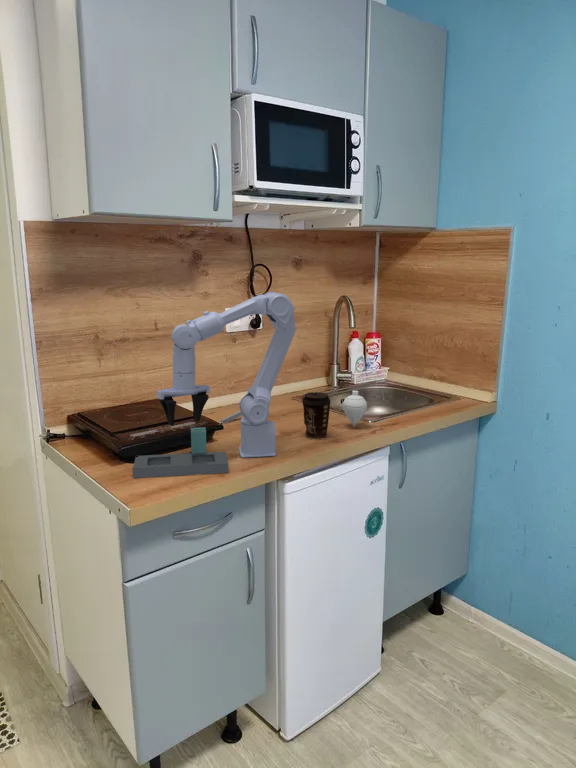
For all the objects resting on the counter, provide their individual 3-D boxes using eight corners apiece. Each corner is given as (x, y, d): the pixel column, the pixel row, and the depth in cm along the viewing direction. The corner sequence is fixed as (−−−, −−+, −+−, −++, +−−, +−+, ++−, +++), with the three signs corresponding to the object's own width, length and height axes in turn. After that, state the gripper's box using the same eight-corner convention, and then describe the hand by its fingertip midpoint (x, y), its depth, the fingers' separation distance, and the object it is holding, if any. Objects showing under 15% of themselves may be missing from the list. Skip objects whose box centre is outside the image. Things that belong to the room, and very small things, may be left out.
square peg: (206, 451, 156) (205, 427, 154) (206, 456, 152) (206, 431, 150) (191, 452, 155) (190, 427, 154) (191, 457, 151) (190, 432, 150)
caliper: (263, 413, 196) (263, 395, 195) (265, 413, 196) (265, 396, 194) (217, 424, 182) (217, 406, 181) (220, 425, 181) (219, 406, 180)
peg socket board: (226, 460, 149) (226, 451, 148) (228, 472, 140) (228, 463, 140) (136, 465, 145) (136, 455, 145) (133, 478, 136) (132, 468, 136)
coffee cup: (307, 430, 175) (308, 390, 173) (333, 433, 172) (334, 392, 170) (297, 438, 167) (298, 396, 165) (324, 442, 164) (325, 399, 162)
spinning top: (338, 429, 177) (339, 392, 175) (346, 423, 184) (348, 387, 181) (361, 432, 174) (363, 394, 171) (369, 426, 181) (370, 389, 178)
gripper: (200, 366, 152) (199, 415, 155) (150, 371, 143) (151, 423, 146) (214, 371, 147) (213, 421, 150) (164, 376, 138) (164, 429, 141)
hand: (183, 422), depth 148 cm, fingers open, 7 cm apart
